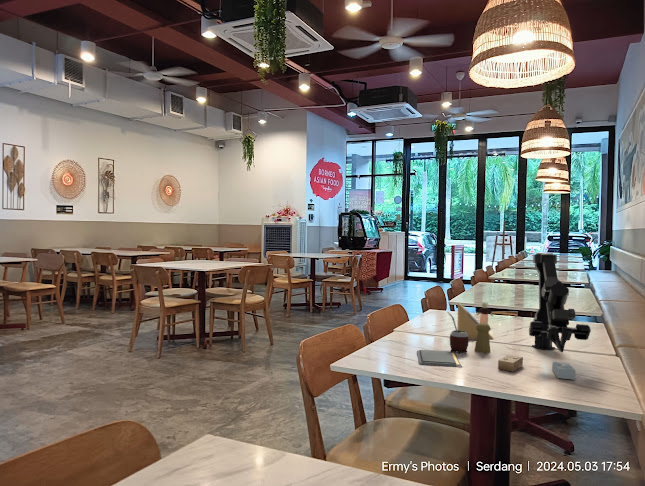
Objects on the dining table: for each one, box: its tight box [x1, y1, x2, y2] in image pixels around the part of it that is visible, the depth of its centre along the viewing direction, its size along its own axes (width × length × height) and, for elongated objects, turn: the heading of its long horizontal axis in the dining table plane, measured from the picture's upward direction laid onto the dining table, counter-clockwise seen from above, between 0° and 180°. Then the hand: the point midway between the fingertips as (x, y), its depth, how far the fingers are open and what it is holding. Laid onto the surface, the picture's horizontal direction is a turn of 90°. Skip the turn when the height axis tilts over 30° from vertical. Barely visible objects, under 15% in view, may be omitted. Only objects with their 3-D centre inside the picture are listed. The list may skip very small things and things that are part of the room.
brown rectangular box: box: [497, 354, 524, 373], centre depth 164 cm, size 4×5×10 cm
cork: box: [474, 322, 491, 354], centre depth 187 cm, size 6×6×11 cm
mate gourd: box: [447, 311, 470, 355], centre depth 185 cm, size 8×8×15 cm
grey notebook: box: [416, 349, 463, 369], centre depth 174 cm, size 20×2×15 cm
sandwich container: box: [456, 301, 494, 340], centre depth 214 cm, size 9×15×15 cm, turn 78°
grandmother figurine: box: [476, 300, 494, 325], centre depth 238 cm, size 8×4×13 cm, turn 80°
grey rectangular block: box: [551, 360, 576, 381], centre depth 156 cm, size 4×5×10 cm
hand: (561, 351), depth 159 cm, fingers closed
